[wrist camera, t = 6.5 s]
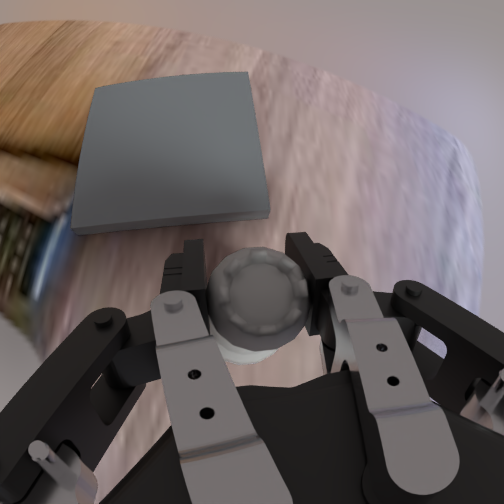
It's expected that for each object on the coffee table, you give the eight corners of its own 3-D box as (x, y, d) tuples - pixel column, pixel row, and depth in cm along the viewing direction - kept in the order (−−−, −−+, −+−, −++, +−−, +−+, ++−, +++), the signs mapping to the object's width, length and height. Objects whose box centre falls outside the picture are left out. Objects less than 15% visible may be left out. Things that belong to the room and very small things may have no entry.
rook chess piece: (288, 284, 17) (341, 227, 10) (281, 368, 16) (336, 376, 8) (204, 274, 17) (194, 208, 10) (194, 359, 16) (172, 363, 8)
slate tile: (77, 235, 18) (70, 228, 17) (99, 97, 22) (95, 88, 21) (267, 218, 20) (270, 209, 19) (246, 82, 23) (247, 71, 22)
